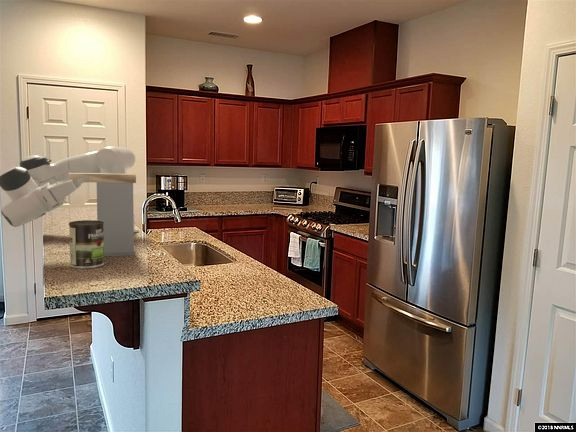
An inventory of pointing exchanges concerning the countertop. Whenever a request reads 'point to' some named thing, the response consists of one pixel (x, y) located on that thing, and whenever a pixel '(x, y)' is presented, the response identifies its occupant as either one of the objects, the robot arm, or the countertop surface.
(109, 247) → the upright
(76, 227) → the coffee can
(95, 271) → the countertop surface
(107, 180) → the rail
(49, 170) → the robot arm
